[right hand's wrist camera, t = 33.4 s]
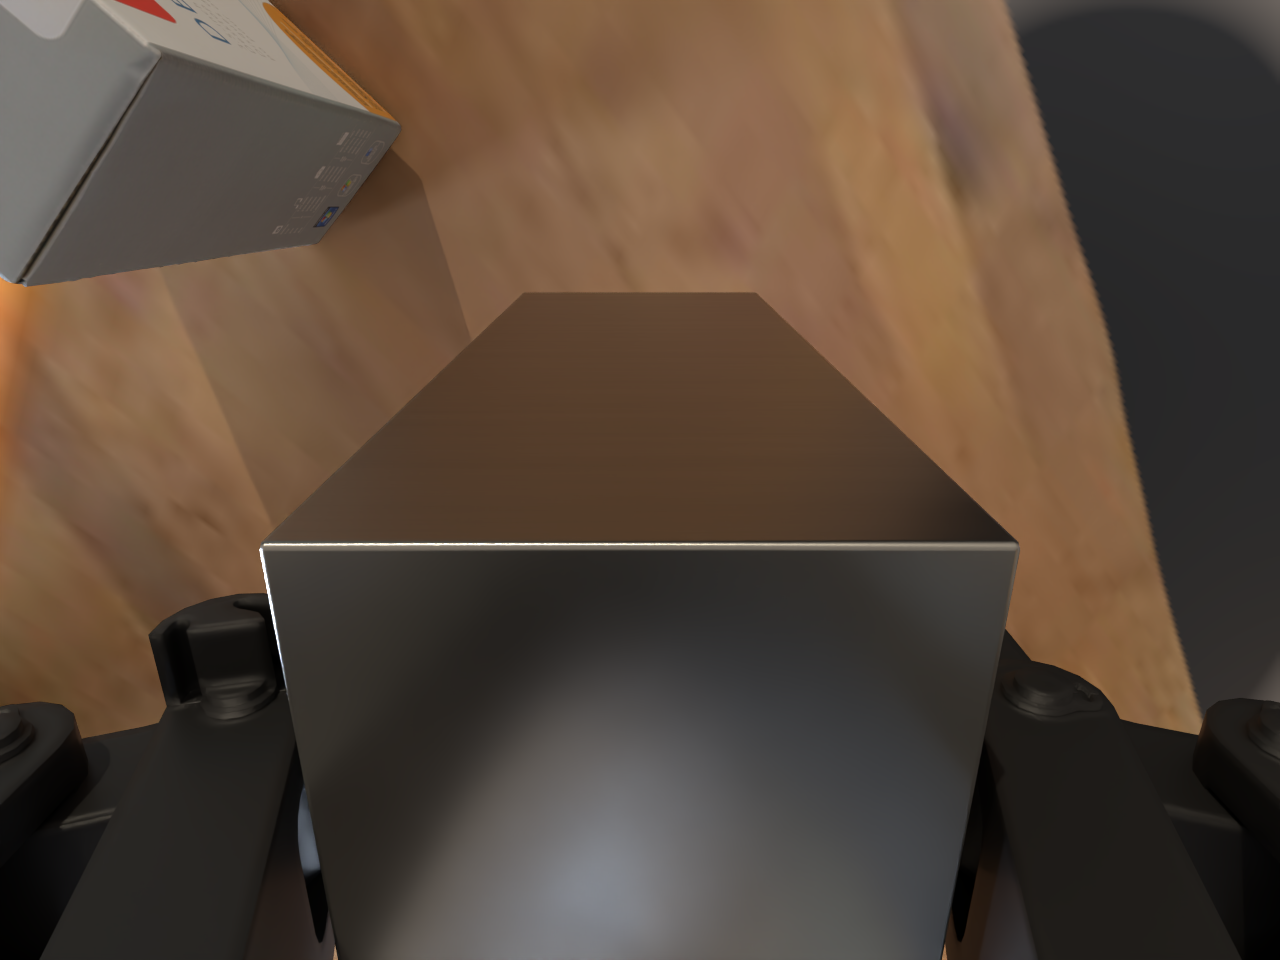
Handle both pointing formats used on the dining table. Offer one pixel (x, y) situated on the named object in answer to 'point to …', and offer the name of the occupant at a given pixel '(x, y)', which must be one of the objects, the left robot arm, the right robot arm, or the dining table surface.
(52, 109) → the hard drive box
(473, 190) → the dining table surface
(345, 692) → the brick
